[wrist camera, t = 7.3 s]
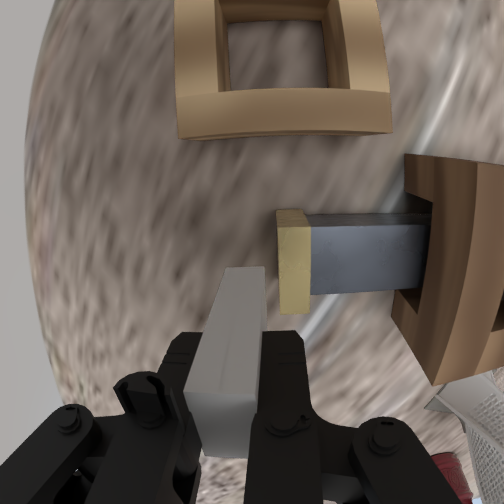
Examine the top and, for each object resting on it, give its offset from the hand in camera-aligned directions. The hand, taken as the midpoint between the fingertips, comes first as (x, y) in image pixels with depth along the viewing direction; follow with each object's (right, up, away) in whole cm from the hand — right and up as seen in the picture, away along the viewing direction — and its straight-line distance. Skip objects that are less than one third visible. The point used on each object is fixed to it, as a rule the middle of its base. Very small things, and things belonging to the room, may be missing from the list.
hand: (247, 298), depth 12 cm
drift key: (+8, +2, +7) cm, 11 cm away
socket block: (+16, +3, +6) cm, 18 cm away
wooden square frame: (+2, +14, +4) cm, 14 cm away
